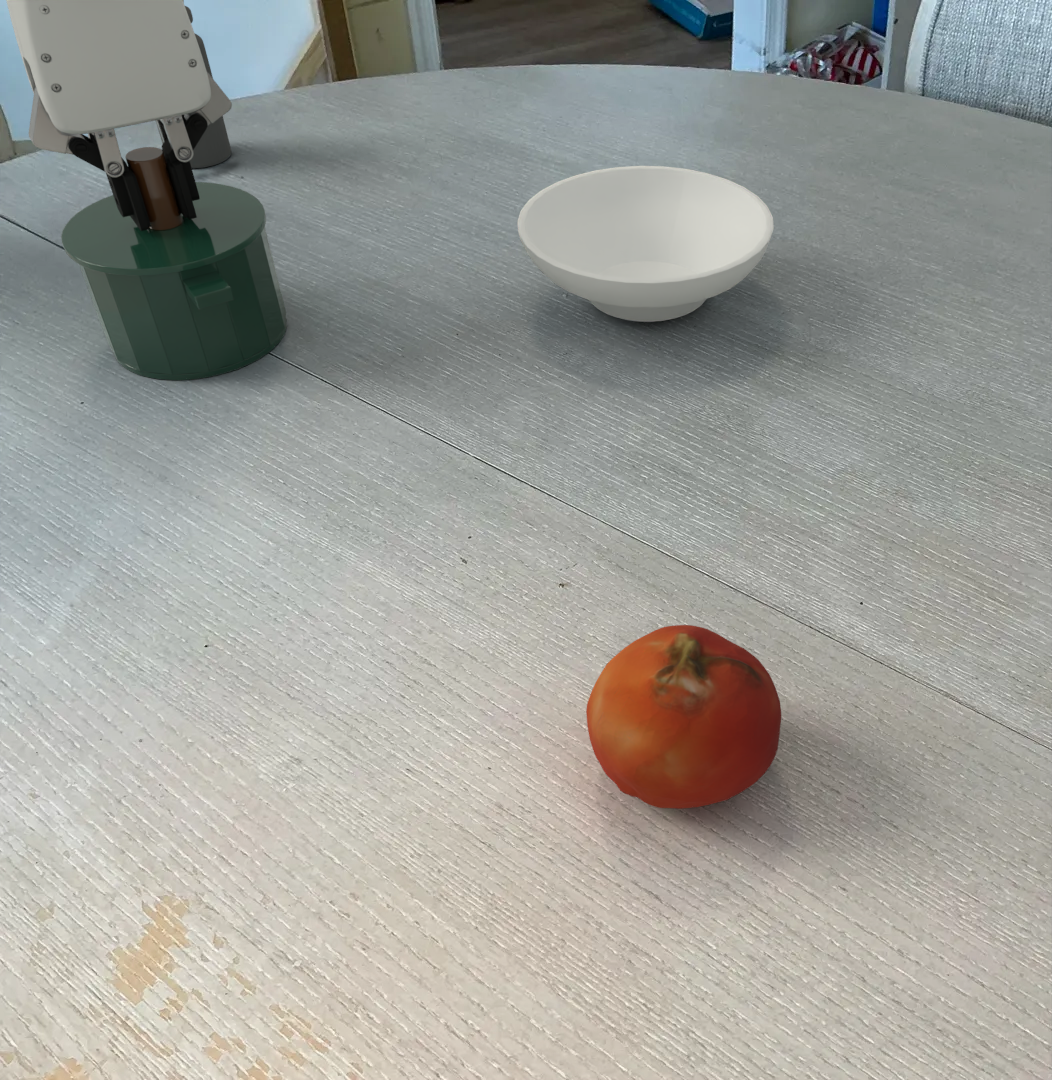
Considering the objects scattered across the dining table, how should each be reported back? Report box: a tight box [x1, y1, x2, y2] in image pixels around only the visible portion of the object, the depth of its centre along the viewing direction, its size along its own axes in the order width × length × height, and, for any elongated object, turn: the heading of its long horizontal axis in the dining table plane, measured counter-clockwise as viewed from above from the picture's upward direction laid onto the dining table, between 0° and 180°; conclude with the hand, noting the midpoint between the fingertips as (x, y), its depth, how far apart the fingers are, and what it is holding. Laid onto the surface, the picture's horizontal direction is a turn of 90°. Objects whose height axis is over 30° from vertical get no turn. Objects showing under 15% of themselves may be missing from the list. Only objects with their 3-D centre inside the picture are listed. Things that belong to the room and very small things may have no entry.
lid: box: [60, 146, 267, 276], centre depth 81 cm, size 13×13×6 cm
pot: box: [78, 226, 288, 381], centre depth 86 cm, size 12×18×8 cm
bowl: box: [516, 165, 775, 323], centre depth 92 cm, size 20×20×7 cm
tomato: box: [585, 624, 782, 810], centre depth 57 cm, size 9×9×8 cm
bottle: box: [155, 0, 232, 169], centre depth 107 cm, size 6×6×15 cm
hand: (162, 215), depth 82 cm, fingers closed on lid, 2 cm apart
